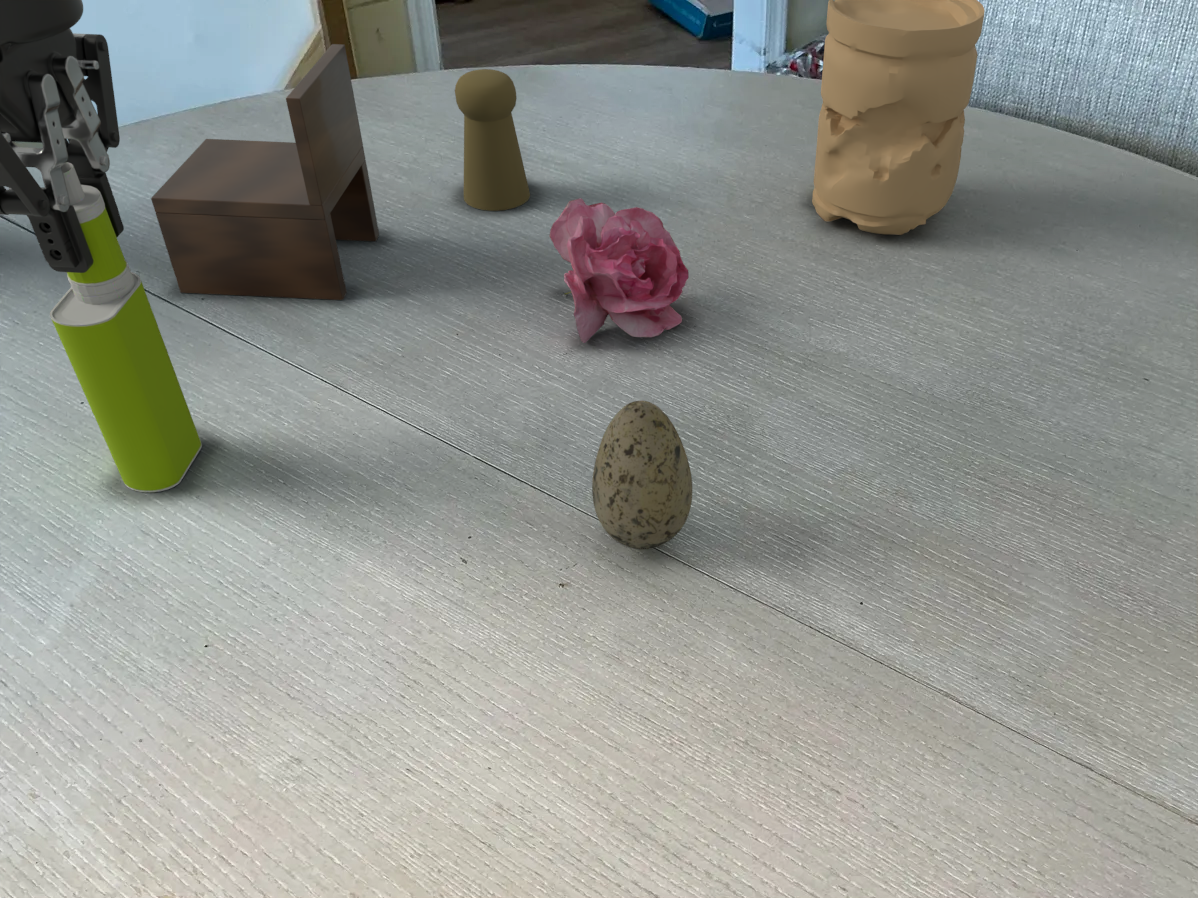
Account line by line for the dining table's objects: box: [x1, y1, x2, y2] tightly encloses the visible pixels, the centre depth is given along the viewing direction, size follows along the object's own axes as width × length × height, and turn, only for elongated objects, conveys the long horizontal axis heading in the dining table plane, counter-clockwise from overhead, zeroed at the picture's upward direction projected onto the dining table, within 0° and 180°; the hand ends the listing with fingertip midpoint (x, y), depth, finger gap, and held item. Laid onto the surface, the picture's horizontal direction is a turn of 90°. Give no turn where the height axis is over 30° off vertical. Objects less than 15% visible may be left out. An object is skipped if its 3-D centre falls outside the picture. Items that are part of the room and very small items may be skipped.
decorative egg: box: [591, 400, 693, 550], centre depth 69 cm, size 6×6×10 cm
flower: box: [549, 197, 690, 344], centre depth 90 cm, size 11×10×10 cm
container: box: [811, 0, 985, 236], centre depth 101 cm, size 13×13×18 cm
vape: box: [49, 162, 203, 493], centre depth 70 cm, size 4×6×20 cm, turn 176°
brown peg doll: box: [454, 68, 531, 212], centre depth 104 cm, size 6×6×11 cm
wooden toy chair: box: [150, 43, 380, 301], centre depth 92 cm, size 13×11×16 cm
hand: (88, 250), depth 67 cm, fingers closed on vape, 3 cm apart
